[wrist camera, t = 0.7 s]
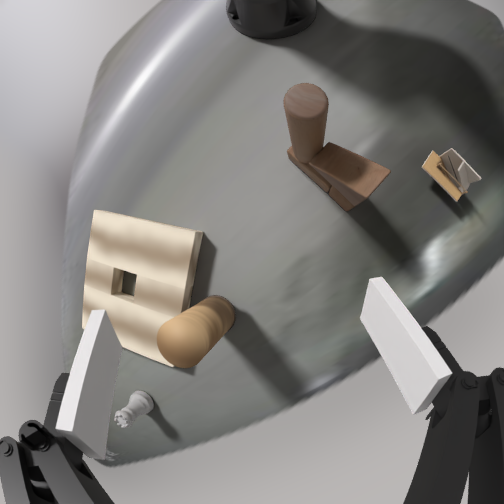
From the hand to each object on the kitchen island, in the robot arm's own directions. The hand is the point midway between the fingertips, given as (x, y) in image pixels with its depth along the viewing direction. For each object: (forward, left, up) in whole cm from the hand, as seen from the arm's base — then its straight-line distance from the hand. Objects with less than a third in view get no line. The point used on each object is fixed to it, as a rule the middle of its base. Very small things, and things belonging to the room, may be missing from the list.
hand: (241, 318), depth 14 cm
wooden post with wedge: (-13, +3, -26) cm, 30 cm away
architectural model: (-17, +20, -27) cm, 38 cm away
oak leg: (+8, -7, -26) cm, 28 cm away
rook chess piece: (+29, -18, -26) cm, 43 cm away
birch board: (+8, -21, -26) cm, 34 cm away
